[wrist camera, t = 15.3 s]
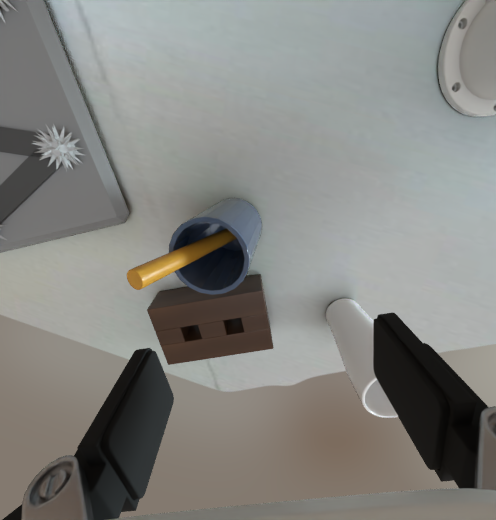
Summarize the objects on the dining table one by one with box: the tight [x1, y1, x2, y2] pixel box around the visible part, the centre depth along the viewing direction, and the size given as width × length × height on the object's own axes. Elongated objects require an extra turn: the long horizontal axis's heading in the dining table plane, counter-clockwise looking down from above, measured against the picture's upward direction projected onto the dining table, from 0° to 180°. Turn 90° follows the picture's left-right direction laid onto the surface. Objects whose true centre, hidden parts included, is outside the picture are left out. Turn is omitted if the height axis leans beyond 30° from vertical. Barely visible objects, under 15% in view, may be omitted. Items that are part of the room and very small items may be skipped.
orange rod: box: [127, 229, 237, 290], centre depth 25 cm, size 2×2×17 cm
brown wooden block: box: [147, 274, 273, 365], centre depth 36 cm, size 9×15×5 cm, turn 101°
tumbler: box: [169, 198, 262, 295], centre depth 28 cm, size 7×7×12 cm
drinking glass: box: [326, 298, 398, 418], centre depth 32 cm, size 7×7×15 cm
